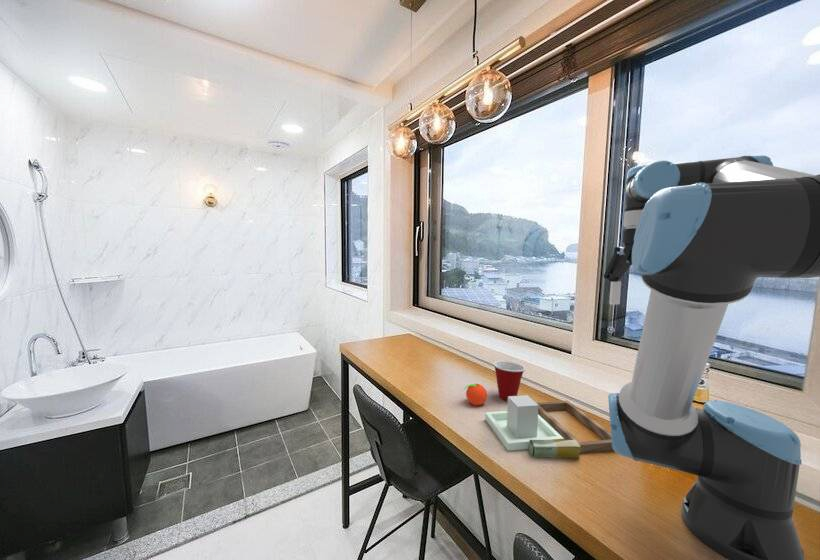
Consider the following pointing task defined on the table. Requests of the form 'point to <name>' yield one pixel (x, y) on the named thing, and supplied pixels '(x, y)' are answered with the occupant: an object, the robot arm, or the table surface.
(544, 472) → the table surface
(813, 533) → the table surface
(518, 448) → the tray
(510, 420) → the stone block
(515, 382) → the plastic cup
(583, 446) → the brown wooden frame
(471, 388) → the clementine
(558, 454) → the medication box
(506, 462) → the table surface
